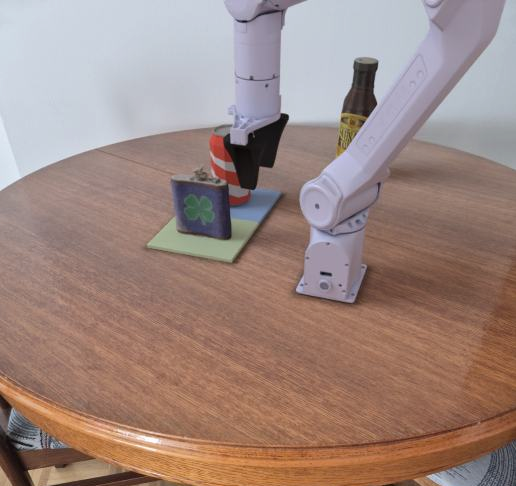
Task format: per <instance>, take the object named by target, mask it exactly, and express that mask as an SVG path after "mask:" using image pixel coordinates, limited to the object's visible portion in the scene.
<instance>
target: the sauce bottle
mask: <svg viewBox="0 0 516 486" xmlns="http://www.w3.org/2000/svg"><path fill="white" fill-rule="evenodd" d="M378 68H379V59H377V58H375V57H370V56H369V57H368V56H361V57H356V58H354V60H353V65H352V69H353V74H352V82H351V86H350V88H349V91H348V92H347V94H346V96H345V97H344V99H343V103H342V108H341V113H340V118H339V127H338V133H337V134H338V135H337V143H336V151H335V157H334V158H335V159H336V158H338V157H339V156H340V155H341V154H342V153H343V152H344V151H345V150H346V149H347V148H348V146H349V145H350V143H351V142H352V140H353V139H354V138H355V136H356V135H357V133H358V132H359V130H360V129H361V127H362V126H363V125H364V123H365V122H366V120H367V119H368V117H369V116H370V115H371V113H372V112H373V110H374V109H375V107H376V106H377V105H378V100H377V98H376V96H375V81H376V75H377V71H378ZM335 159H334V160H335Z"/></svg>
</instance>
